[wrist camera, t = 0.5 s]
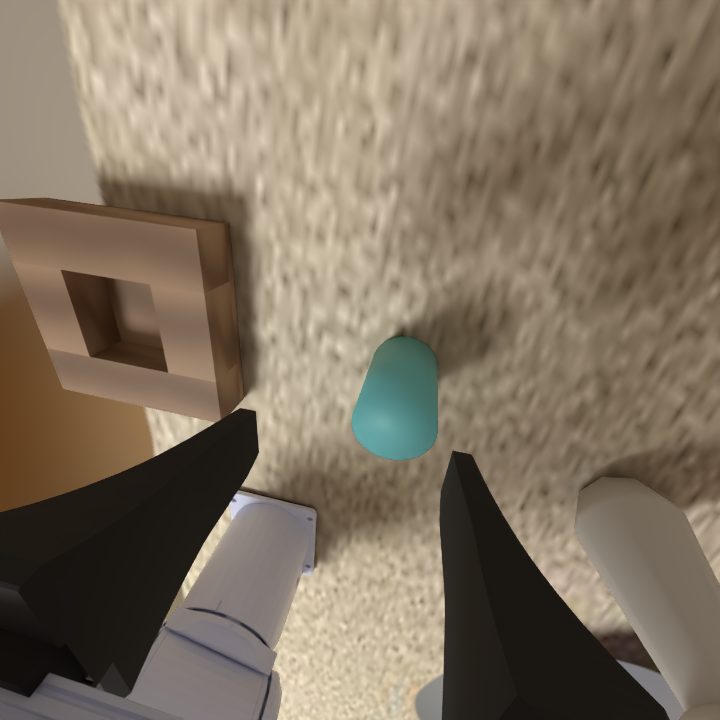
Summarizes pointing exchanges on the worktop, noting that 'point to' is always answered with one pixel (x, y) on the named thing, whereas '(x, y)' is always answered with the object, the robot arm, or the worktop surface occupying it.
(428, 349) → the teal pin
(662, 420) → the worktop surface
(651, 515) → the salt shaker
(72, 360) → the socket block
